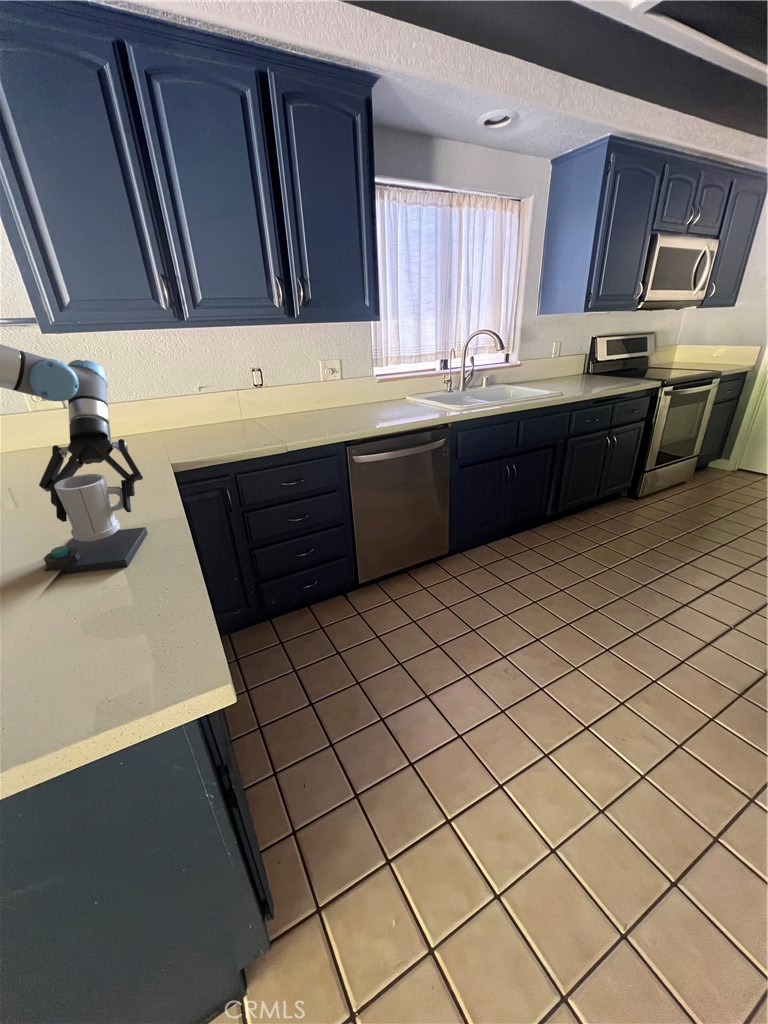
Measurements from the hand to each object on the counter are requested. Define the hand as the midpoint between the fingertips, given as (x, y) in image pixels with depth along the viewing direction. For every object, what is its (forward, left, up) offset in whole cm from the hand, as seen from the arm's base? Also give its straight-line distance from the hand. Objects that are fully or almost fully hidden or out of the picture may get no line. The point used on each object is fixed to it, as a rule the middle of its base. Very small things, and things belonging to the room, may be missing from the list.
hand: (95, 514), depth 89 cm
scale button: (-7, -4, -7) cm, 10 cm away
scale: (-2, +1, -10) cm, 10 cm away
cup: (-1, +2, -5) cm, 6 cm away
